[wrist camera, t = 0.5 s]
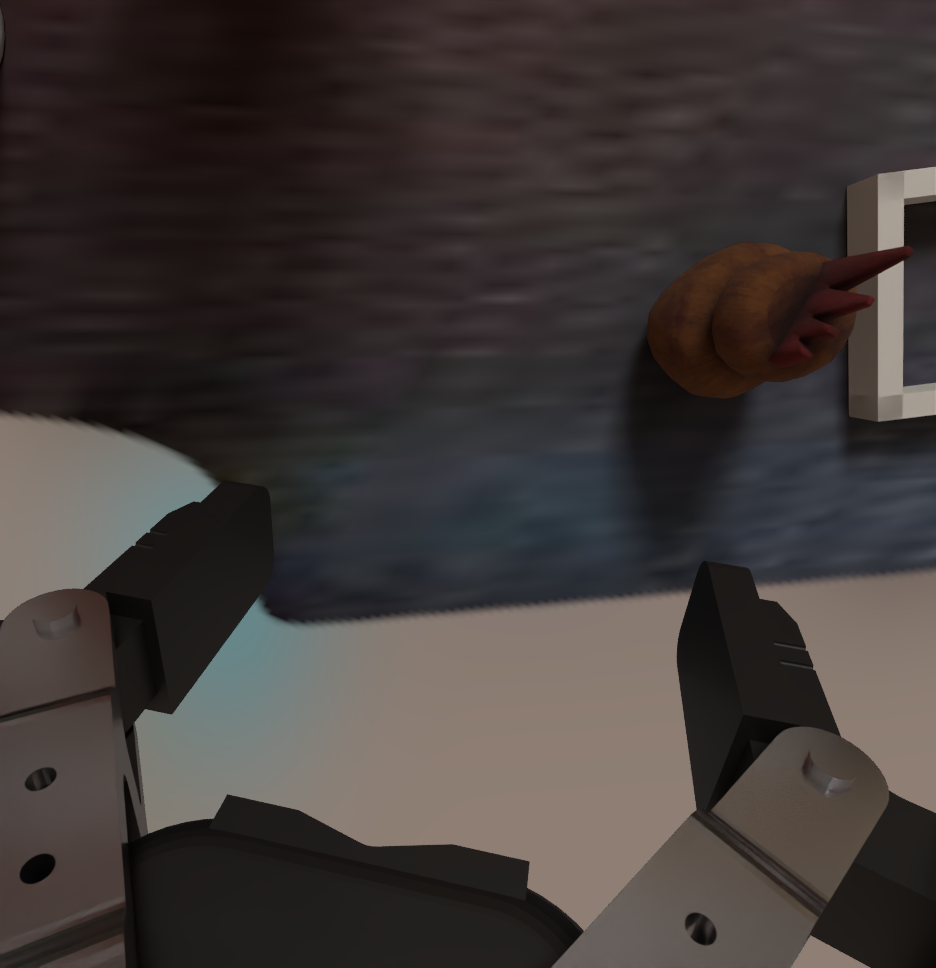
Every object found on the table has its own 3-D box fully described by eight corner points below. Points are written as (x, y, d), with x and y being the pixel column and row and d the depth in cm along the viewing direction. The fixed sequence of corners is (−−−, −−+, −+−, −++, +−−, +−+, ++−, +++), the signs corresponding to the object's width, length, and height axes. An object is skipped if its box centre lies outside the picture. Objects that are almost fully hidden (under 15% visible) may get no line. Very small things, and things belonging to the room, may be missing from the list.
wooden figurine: (714, 233, 34) (915, 147, 19) (781, 324, 35) (1023, 308, 20) (608, 325, 34) (722, 311, 20) (676, 411, 35) (833, 458, 21)
